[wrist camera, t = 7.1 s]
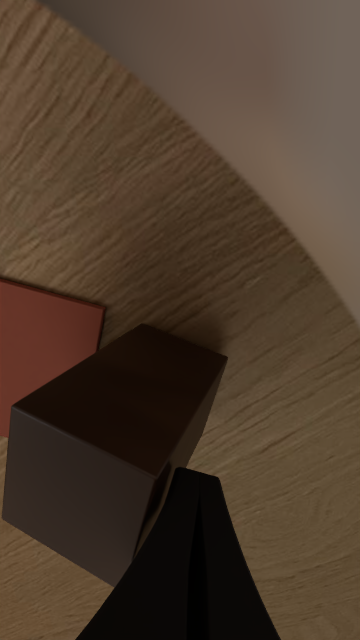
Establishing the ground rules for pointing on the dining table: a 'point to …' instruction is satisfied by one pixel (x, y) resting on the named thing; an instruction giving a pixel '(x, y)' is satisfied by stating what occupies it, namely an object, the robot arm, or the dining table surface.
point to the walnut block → (107, 446)
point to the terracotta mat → (41, 340)
